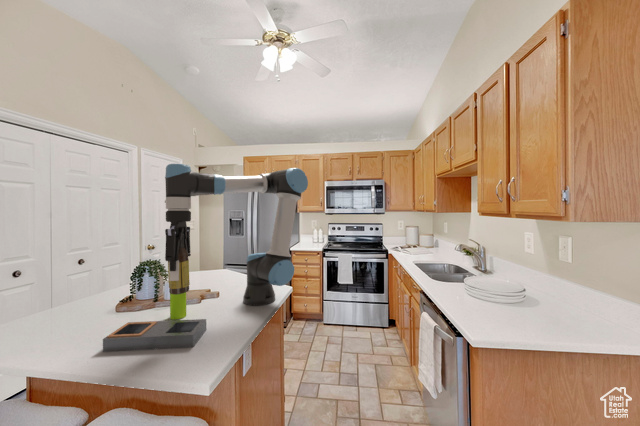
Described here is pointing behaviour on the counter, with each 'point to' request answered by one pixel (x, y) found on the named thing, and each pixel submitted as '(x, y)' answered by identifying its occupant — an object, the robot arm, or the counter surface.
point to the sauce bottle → (181, 272)
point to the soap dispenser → (177, 306)
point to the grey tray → (155, 335)
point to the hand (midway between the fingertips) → (178, 277)
